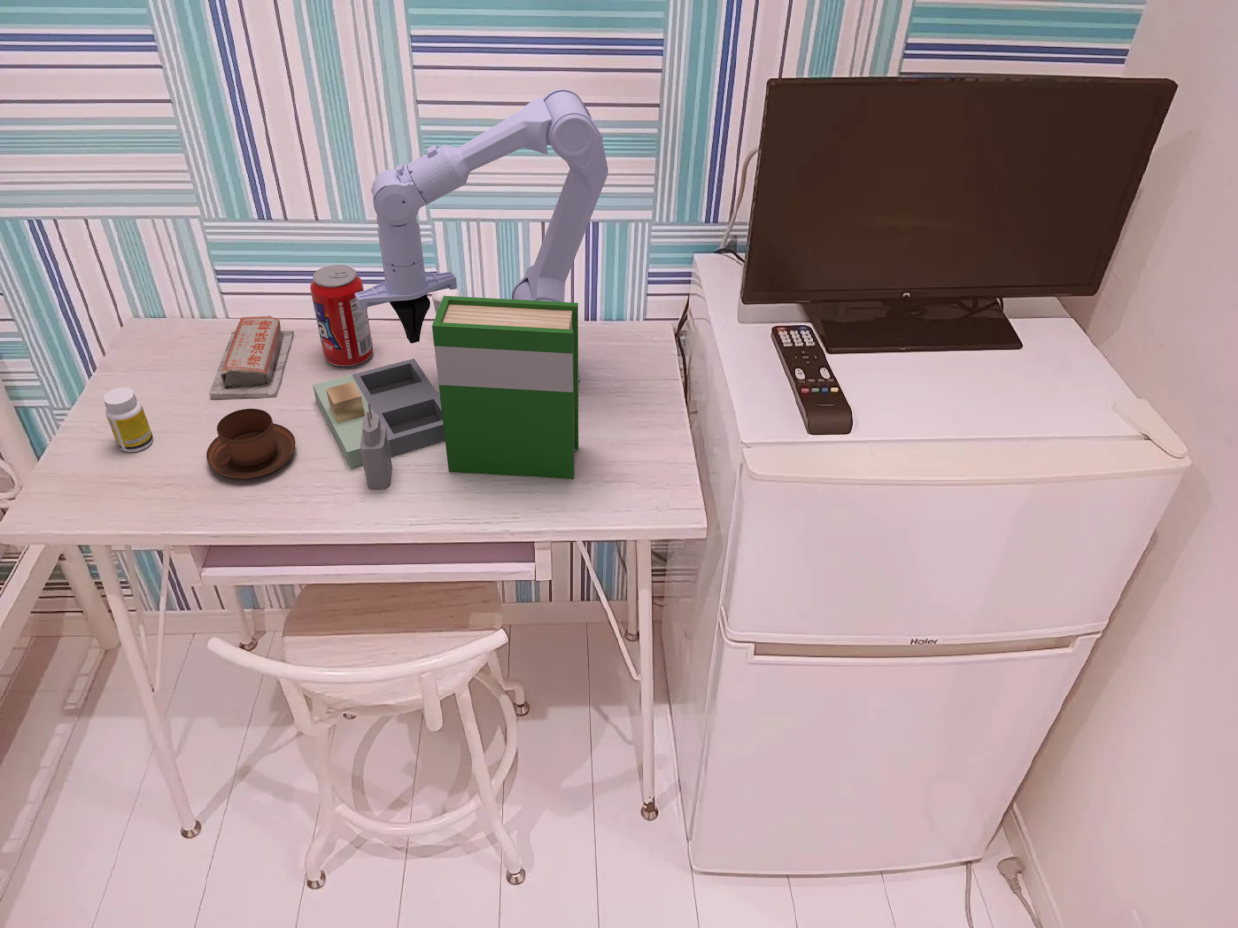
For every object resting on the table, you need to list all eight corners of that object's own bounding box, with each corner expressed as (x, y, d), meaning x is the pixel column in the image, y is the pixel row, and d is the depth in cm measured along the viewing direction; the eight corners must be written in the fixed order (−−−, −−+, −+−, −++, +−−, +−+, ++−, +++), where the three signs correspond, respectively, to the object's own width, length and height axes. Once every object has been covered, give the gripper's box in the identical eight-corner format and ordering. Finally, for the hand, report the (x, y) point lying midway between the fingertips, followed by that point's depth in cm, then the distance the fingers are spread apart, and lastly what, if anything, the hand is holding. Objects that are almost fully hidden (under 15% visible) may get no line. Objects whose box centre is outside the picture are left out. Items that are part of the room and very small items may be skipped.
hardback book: (578, 446, 144) (578, 302, 128) (573, 479, 138) (572, 333, 123) (458, 439, 144) (443, 295, 129) (448, 472, 139) (431, 325, 123)
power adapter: (366, 489, 135) (353, 420, 127) (370, 464, 139) (358, 395, 132) (390, 488, 135) (378, 419, 128) (392, 463, 140) (381, 394, 132)
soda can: (373, 368, 157) (359, 286, 148) (322, 372, 156) (305, 289, 147) (374, 342, 163) (361, 260, 154) (326, 345, 162) (310, 263, 153)
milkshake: (463, 346, 163) (458, 293, 156) (432, 342, 164) (426, 289, 157) (472, 332, 166) (467, 280, 160) (441, 328, 167) (436, 276, 161)
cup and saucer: (276, 491, 135) (266, 456, 131) (193, 480, 136) (182, 445, 132) (311, 437, 144) (303, 403, 140) (233, 428, 145) (223, 394, 141)
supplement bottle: (161, 437, 143) (144, 390, 138) (138, 456, 139) (120, 408, 134) (133, 429, 144) (116, 382, 139) (111, 448, 141) (92, 401, 135)
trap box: (416, 374, 157) (414, 358, 155) (457, 437, 145) (455, 420, 143) (316, 400, 151) (312, 384, 149) (350, 468, 138) (347, 452, 137)
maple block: (356, 401, 146) (353, 381, 143) (364, 415, 143) (361, 396, 141) (329, 408, 144) (325, 389, 142) (337, 423, 141) (333, 403, 139)
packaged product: (227, 313, 161) (289, 311, 162) (233, 338, 164) (295, 336, 165) (202, 376, 147) (271, 374, 148) (210, 402, 150) (277, 400, 151)
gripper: (441, 235, 144) (449, 315, 153) (343, 255, 138) (357, 337, 147) (459, 256, 139) (466, 337, 148) (358, 278, 134) (372, 361, 142)
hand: (413, 339), depth 147 cm, fingers closed
